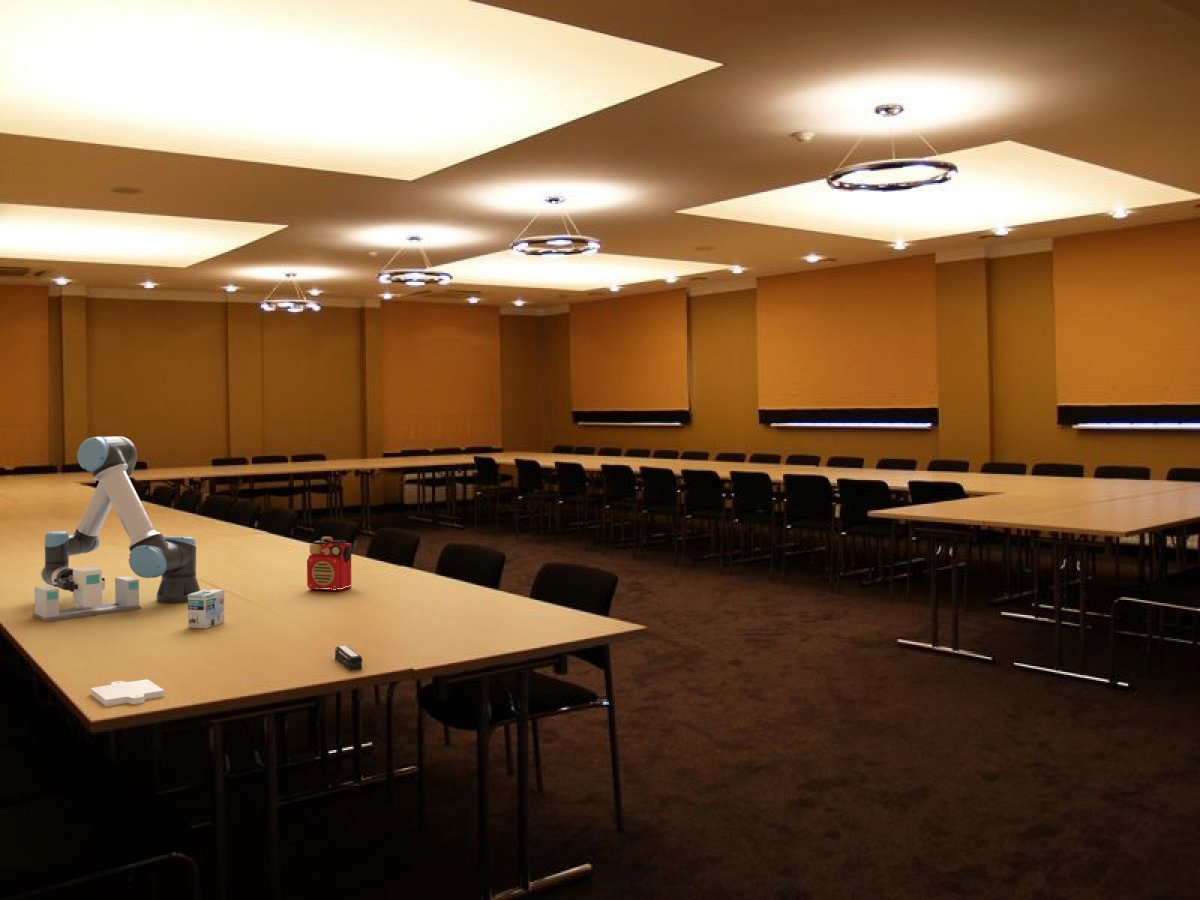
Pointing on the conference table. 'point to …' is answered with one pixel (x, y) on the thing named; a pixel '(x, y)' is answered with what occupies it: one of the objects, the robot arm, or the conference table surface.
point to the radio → (329, 564)
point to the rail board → (88, 611)
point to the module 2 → (127, 591)
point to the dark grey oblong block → (348, 658)
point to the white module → (88, 586)
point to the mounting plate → (127, 692)
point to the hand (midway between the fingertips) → (93, 586)
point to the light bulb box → (205, 608)
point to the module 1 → (46, 601)
